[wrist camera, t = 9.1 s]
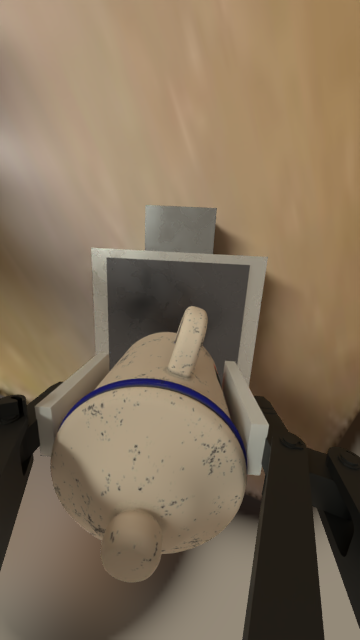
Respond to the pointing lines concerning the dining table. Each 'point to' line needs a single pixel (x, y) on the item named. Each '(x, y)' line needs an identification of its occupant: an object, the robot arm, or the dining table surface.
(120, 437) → the teacup with lid
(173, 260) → the white flat block
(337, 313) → the dining table surface
